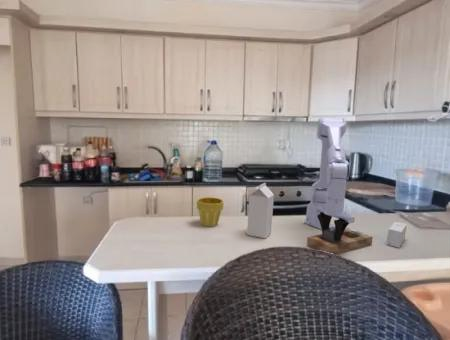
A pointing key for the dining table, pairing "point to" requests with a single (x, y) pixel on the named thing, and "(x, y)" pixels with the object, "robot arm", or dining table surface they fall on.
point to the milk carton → (260, 212)
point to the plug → (330, 235)
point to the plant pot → (209, 210)
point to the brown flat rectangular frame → (341, 242)
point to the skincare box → (396, 234)
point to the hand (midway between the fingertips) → (331, 237)
